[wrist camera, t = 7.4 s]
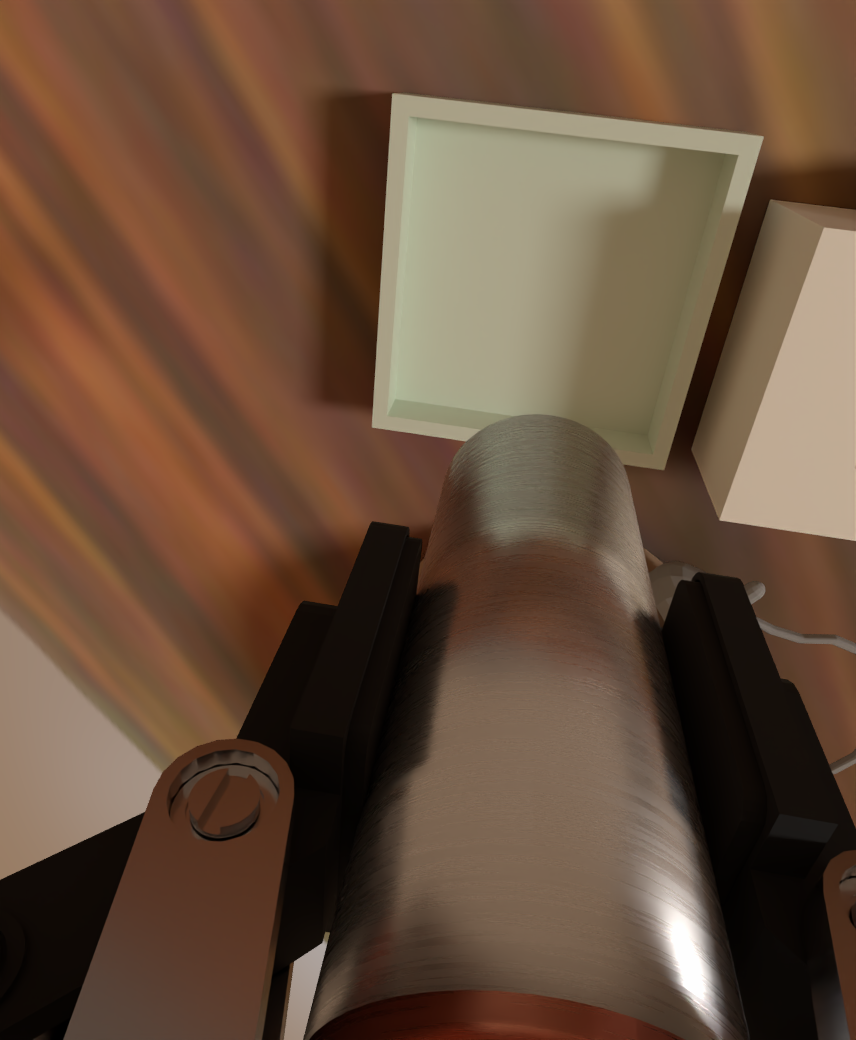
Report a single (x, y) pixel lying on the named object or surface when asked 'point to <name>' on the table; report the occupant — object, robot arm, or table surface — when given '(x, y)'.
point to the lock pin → (531, 782)
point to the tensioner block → (788, 381)
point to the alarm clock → (673, 572)
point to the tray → (550, 267)
